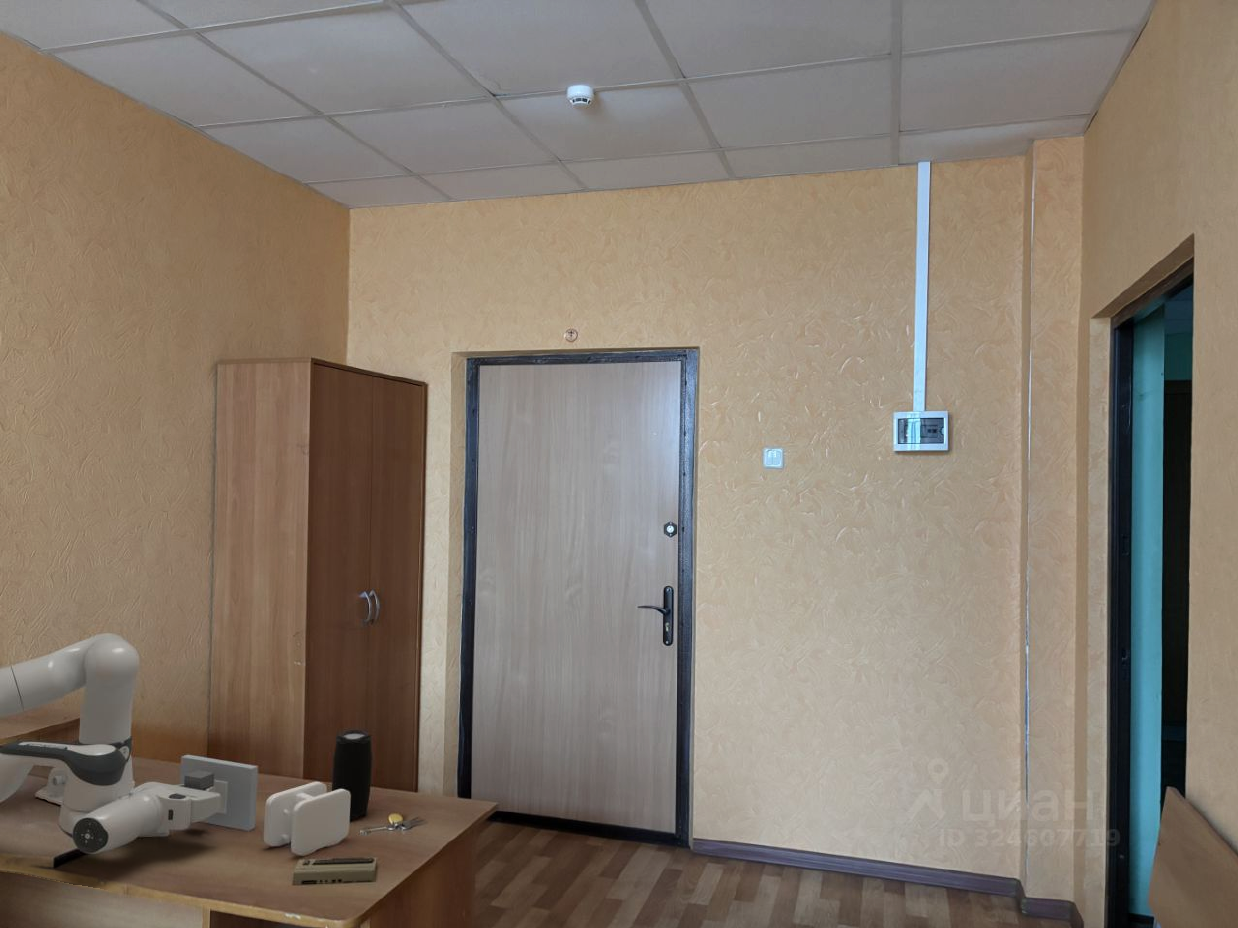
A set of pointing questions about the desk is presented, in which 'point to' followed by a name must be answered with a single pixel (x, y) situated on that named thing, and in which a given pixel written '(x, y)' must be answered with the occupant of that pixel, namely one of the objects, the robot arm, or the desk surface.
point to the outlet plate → (228, 790)
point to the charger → (199, 780)
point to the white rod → (157, 834)
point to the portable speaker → (353, 769)
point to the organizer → (307, 818)
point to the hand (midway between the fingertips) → (201, 788)
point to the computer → (335, 870)
